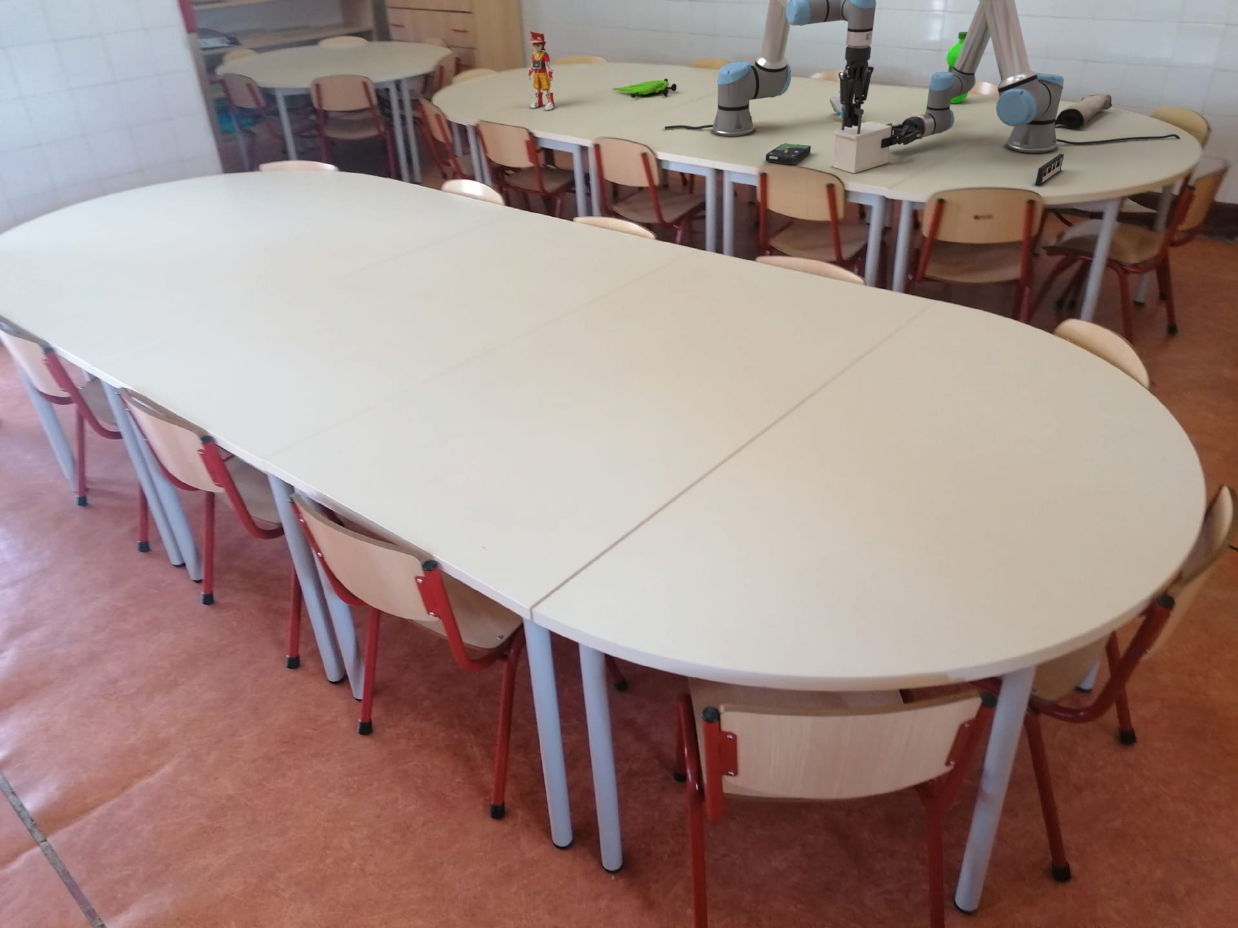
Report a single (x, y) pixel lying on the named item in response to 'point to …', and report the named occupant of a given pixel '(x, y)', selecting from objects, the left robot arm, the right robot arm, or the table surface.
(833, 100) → the anatomical model
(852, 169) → the chest
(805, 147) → the disk drive
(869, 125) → the lid
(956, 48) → the plastic bottle
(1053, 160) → the midi keyboard
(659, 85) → the toy
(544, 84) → the toy
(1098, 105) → the rolled mat
